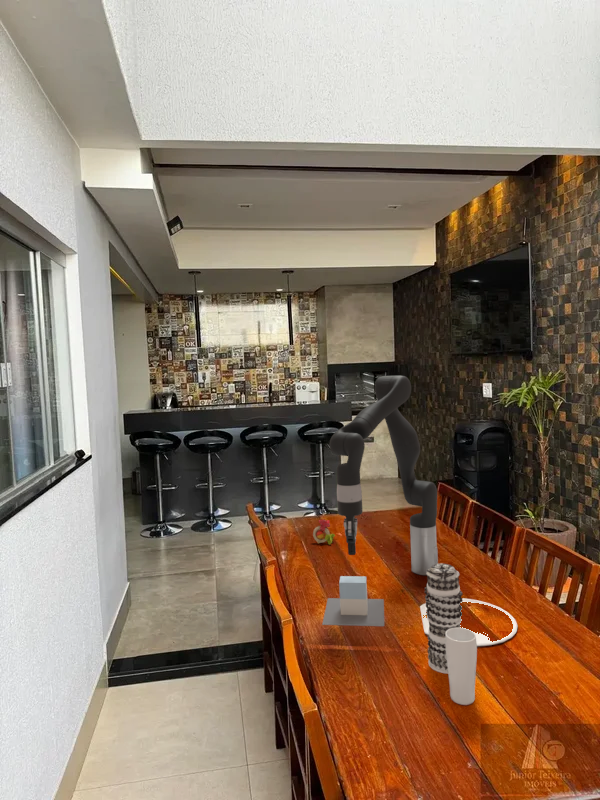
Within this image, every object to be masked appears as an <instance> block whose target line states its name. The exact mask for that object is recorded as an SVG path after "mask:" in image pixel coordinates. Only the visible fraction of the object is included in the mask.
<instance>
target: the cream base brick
mask: <svg viewBox="0 0 600 800" xmlns="http://www.w3.org/2000/svg"><path fill="white" fill-rule="evenodd" d="M367 599H368V598H367ZM367 599H340V607H341V615H367V613H368V603H367Z"/></svg>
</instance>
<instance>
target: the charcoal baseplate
mask: <svg viewBox="0 0 600 800" xmlns="http://www.w3.org/2000/svg"><path fill="white" fill-rule="evenodd" d="M367 603H368V613H367V615H341V607H340V597H338V598H336V597H331V598H330V597H327V601H326V604H325V605H326V606H325V610H324V614H323V620H322V626H350V627H351V626H358V627H360V626H361V627H385V599H384V598H367Z"/></svg>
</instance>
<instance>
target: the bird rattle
mask: <svg viewBox="0 0 600 800" xmlns="http://www.w3.org/2000/svg"><path fill="white" fill-rule="evenodd" d="M318 523H319V524H320V525H317V526H316V527H315V528H314V529H313V533H312V536H313V539H314V541H316V542H317V544H318V545H319V544H321V543H326V542H327V544H328V545H331V544H332V543H333V540H334V537H335V536H336V535H335V534H334V533H330V530H329V529H328V528H330V527H331V524H330V519H329V520H328V519H327V520H326V519H319V520H318Z"/></svg>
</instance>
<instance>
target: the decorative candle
mask: <svg viewBox="0 0 600 800" xmlns="http://www.w3.org/2000/svg"><path fill="white" fill-rule="evenodd" d="M426 574H427V575H426V576H427V583H426V587H424V594H425V597H424V598H425V600H424V601H425V603H426V607H427V610H426V612H427V619H428V621H429V629H428V631H429V634H428V635H427V640H428V641H427V646H428V648H427V654H428V655H427V659H428V662H427V663H428V666H429V667H430V668H431V669H432V670H433V671H435V672H437V673H442V674H448V667H447V659H446V649H445V633H446V631H447V630H448V629H450V628H456V627H460V623H461V621H462V619H461V616H462V612H461V610H462V606H461V605H460V603H461V602H462V601H463V600H462V596H463V592H462V591H461V589H460V588H461V587H460V583H459V582H460V578H459V576H460V572H459V571H458V570H456V569H455V567H454V566H453V565H451V564H448V563H438V564H434V565H432V566H431V567H430V569H428V570H427V571H426ZM428 605H429V607H428Z"/></svg>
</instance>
